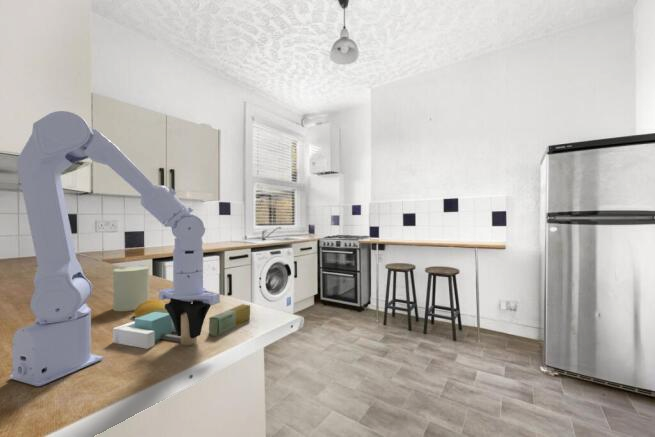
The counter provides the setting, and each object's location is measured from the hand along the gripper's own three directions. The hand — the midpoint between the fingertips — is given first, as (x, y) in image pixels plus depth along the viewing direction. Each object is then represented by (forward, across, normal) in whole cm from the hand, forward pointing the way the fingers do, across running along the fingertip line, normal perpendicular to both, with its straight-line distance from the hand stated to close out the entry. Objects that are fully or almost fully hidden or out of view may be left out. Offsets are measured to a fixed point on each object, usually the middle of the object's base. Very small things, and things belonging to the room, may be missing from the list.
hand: (188, 335), depth 61 cm
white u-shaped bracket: (+1, +10, 0) cm, 10 cm away
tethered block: (+1, +6, 0) cm, 6 cm away
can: (+2, +37, -15) cm, 40 cm away
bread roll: (+2, +24, -11) cm, 27 cm away
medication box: (+2, -2, -11) cm, 11 cm away
